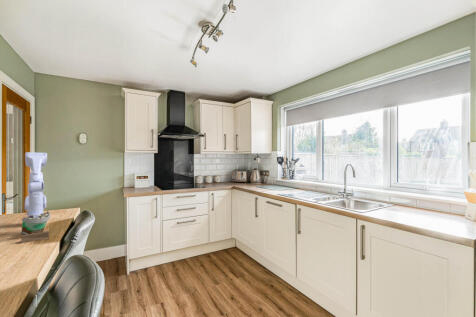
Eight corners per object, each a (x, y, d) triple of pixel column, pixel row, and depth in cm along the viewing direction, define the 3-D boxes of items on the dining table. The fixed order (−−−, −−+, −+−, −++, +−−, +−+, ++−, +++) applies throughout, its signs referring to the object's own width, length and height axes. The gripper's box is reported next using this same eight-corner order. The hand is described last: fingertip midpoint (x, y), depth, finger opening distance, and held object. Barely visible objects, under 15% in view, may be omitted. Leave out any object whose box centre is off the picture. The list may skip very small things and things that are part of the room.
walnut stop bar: (21, 241, 108) (21, 235, 108) (48, 236, 115) (48, 230, 115) (21, 243, 106) (21, 236, 106) (48, 238, 113) (48, 232, 113)
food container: (26, 240, 111) (31, 222, 110) (17, 235, 113) (22, 217, 112) (51, 231, 123) (56, 215, 122) (43, 227, 125) (48, 210, 124)
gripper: (26, 202, 124) (25, 227, 124) (25, 207, 113) (24, 233, 113) (43, 201, 129) (42, 224, 129) (43, 205, 118) (43, 231, 118)
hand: (35, 229), depth 121 cm, fingers closed, pressing on food container
